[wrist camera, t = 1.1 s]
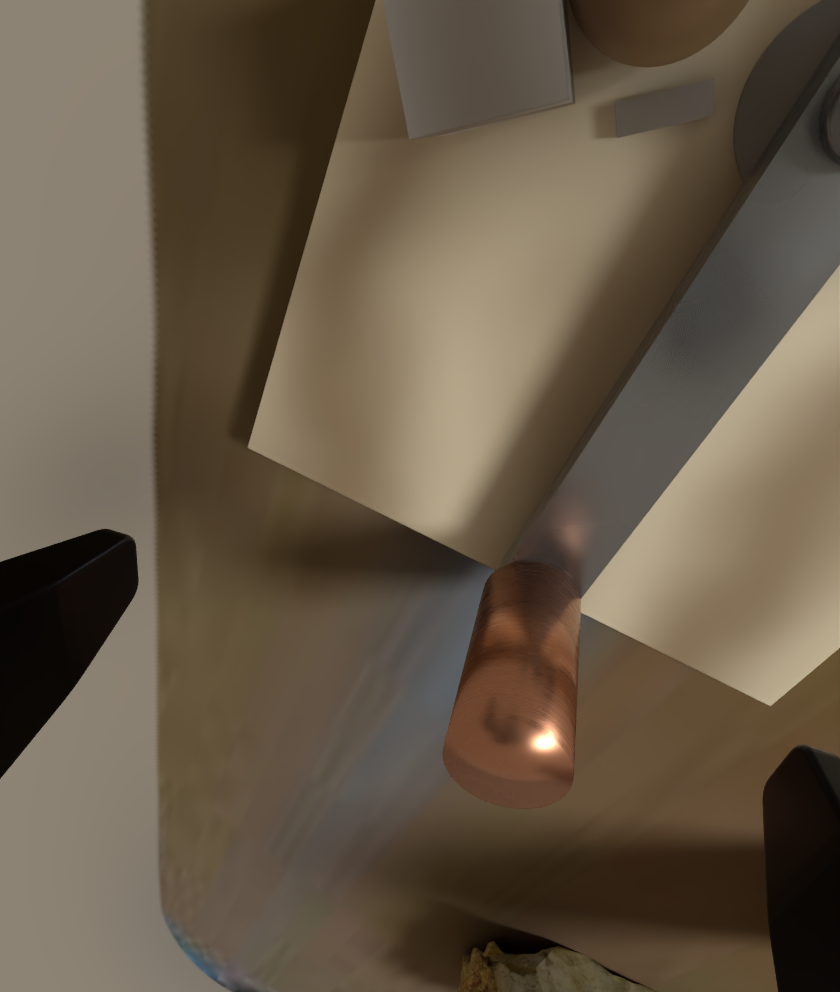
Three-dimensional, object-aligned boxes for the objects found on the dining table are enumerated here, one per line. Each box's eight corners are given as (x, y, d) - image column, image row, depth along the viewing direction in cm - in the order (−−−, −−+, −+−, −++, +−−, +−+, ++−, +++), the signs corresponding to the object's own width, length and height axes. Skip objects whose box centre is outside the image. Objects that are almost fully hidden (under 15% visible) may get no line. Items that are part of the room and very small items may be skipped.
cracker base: (1623, -81, 11) (2298, -214, 7) (763, 680, 23) (800, 811, 19) (574, -612, 11) (556, -1104, 6) (263, 433, 23) (183, 507, 19)
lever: (1035, -310, 10) (1689, -959, 4) (1207, -225, 10) (2116, -742, 4) (473, 588, 22) (423, 771, 15) (553, 627, 22) (534, 825, 16)
